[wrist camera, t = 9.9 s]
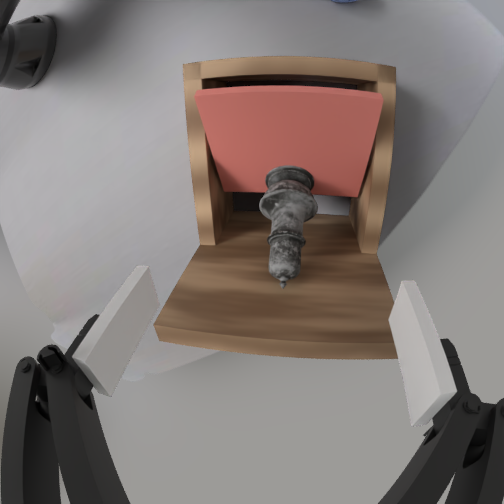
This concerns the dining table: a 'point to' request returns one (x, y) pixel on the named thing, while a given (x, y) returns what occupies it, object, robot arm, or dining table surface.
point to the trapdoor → (290, 134)
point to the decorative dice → (343, 0)
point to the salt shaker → (287, 218)
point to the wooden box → (258, 250)
